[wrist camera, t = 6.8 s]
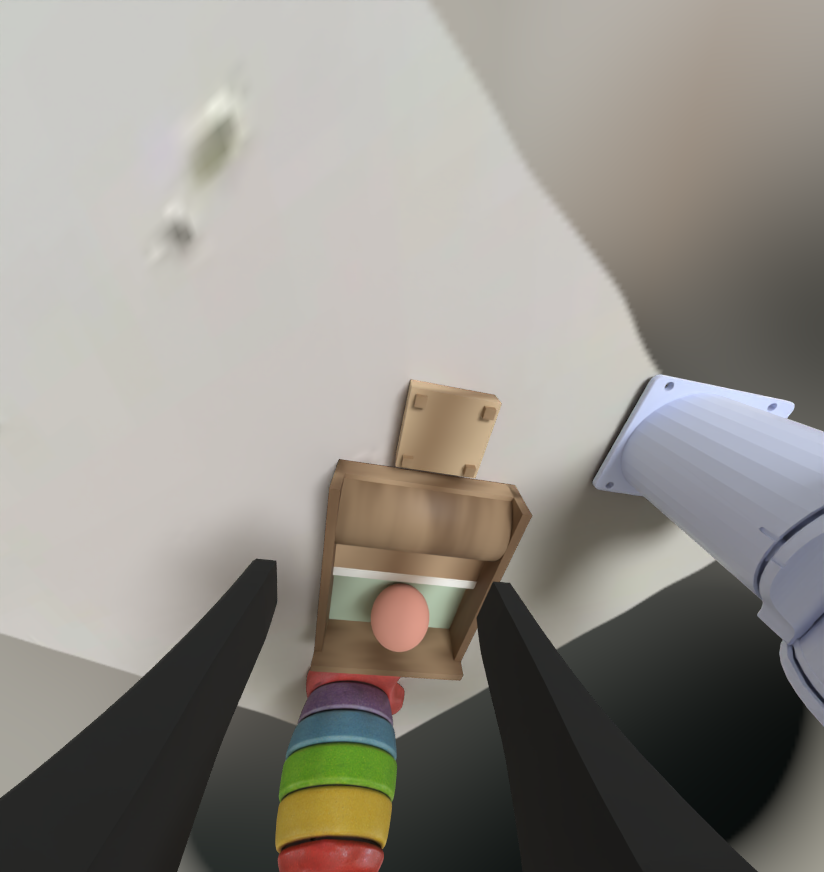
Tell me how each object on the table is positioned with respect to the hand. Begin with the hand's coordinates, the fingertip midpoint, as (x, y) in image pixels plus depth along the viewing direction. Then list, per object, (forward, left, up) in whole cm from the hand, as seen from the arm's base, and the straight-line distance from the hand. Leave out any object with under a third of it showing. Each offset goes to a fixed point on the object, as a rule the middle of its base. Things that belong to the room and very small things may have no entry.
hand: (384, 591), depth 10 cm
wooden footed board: (-3, -2, -10) cm, 11 cm away
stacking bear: (-1, +27, -10) cm, 29 cm away
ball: (-3, +13, -7) cm, 15 cm away
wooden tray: (-3, +10, -13) cm, 16 cm away
